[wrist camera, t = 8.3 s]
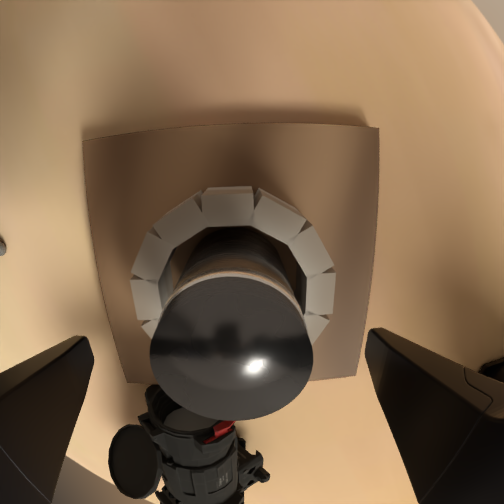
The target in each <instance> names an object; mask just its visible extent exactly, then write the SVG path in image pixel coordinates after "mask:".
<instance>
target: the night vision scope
mask: <svg viewBox="0 0 504 504" xmlns="http://www.w3.org/2000/svg"><path fill="white" fill-rule="evenodd" d="M145 398H146V402H147V405H148V412H147V413H145V414H142V415H140V416H138V419H139V422H140V424H141V425H142V426H140V425H130V424H128V425H126V426H124V427H122V428H121V429H119V430H118V432H117V433H116V435H115V436H114V437H113V439H112V442H111V445H110V448H109V459H108V464H109V470H110V474H111V477H112V479H113V481H114V483H115V485H116V486H117V488H118V489H119V491H120V492H121V493H123V494H124V495H126V496H128V497H131V498H133V499H144V498H146V497H148V496H149V495H151V494H152V493H154V492H155V491H156V489H157V486H158V484H159V481H160V478H161V475H162V478H163V481H164V483H165V486H164V487H163V488H162V492H159V491H156V492H155V494H156V497H157V498H158V499H159V501H160V504H244V491H245V490H246V489H247V488H248V487H250V486H251V485H253V484H254V483H256V482H257V481H260V482H261V483H264V482H267V481H268V480H269V479H270V474H269V473H268V472H267V471H266V470H265V469H264V468H263V457H262V455H261V453H260V452H258V451H257V450H256V455H251V454H250V453H249V452H248V451H246V450H245V443H246V441H245V440H244V439H243V438H239V439H237V436H236V430H235V426H234V425H233V423H234V422H235V421H226V420H217V419H212V418H208V417H205V416H201V415H198V414H196V413H194V412H191V411H189V410H187V409H186V408H184V407H182V406H181V405H179V404H178V403H176V402H175V401H174V400H173V399H171V398H170V397H169V396H168V395H167V394H166V393H165V392H164V391H163V389H162V388H161V387H160V385H156V384H153V385H151V386H150V387H148V388H147V389H146V392H145Z"/></svg>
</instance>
